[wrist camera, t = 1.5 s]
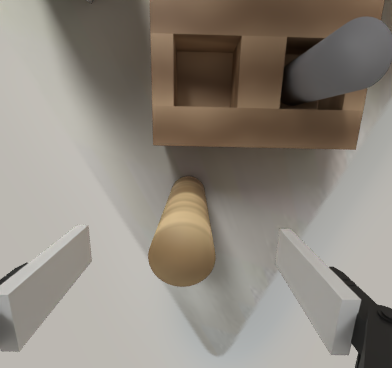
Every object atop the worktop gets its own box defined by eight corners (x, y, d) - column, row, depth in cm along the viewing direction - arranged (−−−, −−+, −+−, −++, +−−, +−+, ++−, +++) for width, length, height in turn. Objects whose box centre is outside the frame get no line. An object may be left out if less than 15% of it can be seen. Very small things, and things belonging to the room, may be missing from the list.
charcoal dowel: (276, 62, 21) (332, 15, 13) (317, 63, 21) (401, 17, 13) (272, 105, 22) (322, 89, 14) (311, 106, 22) (385, 91, 14)
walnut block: (161, 21, 22) (149, -17, 16) (336, 26, 22) (386, -10, 17) (162, 141, 25) (153, 145, 19) (318, 145, 25) (355, 149, 20)
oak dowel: (171, 175, 26) (147, 226, 13) (205, 176, 26) (217, 227, 13) (171, 207, 27) (149, 286, 14) (204, 208, 27) (214, 286, 14)
